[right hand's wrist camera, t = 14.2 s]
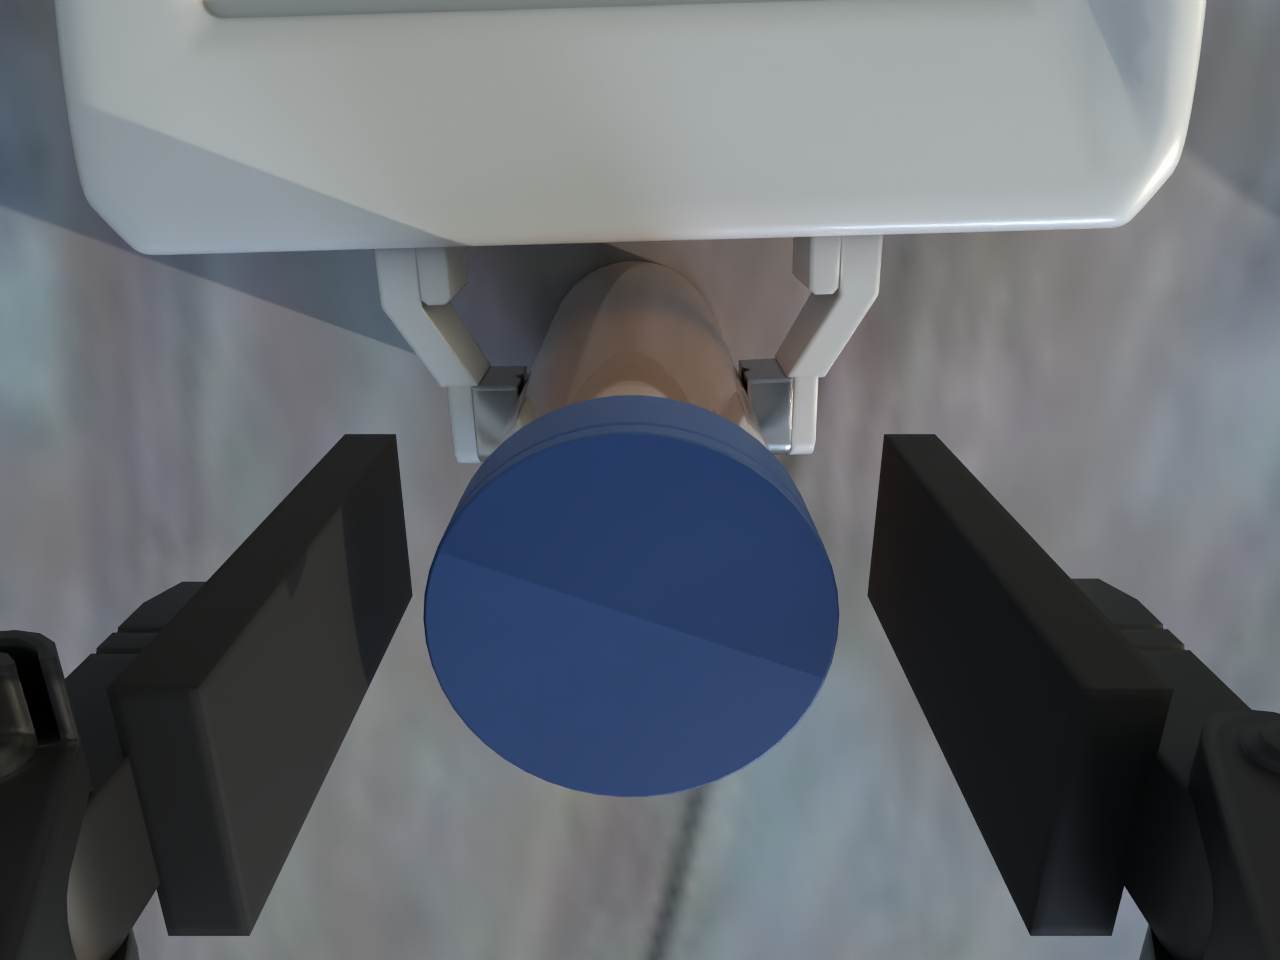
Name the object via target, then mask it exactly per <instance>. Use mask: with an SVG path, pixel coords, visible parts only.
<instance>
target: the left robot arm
mask: <svg viewBox="0 0 1280 960" xmlns="http://www.w3.org/2000/svg"><path fill="white" fill-rule="evenodd" d="M54 1H55V14H56V26H57V35H58V44H59V52H60V61H61V70H62V79H63V86H64V93H65V100H66V107H67V114H68V120H69V126H70V132H71V138H72V144H73V150H74V156H75V161H76V166H77V170H78V174H79V179H80V183H81V186H82V189H83V192H84V194H85V197H86V199H87V201H88V202H89V204H90V205H91V207H92V208H93V209H94V210H95V211H96V212H97V213H98V214H99V215H100V216H101V217H102V218H103V219H104V220H105V221H106V222H107V223H108V224H109V225H110V226H111V227H112V228H113V230H114V231H115V232H116V233H117V234H118V235H119V236H120V237H121V238H123V239H124V240H125V241H126V242H127V243H128V244H129V245H130V246H131V247H132V248H133V249H135V250H136V251H138V252H140V253H143V254H147V255H177V254H212V253H248V252H283V251H318V250H354V249H374V253H375V261H376V269H377V277H378V284H379V292H380V300H381V308H382V309H383V310H384V312H385V313H386V314H387V316H388V317H389V318H390V320H391V321H392V322H393V324H394V325H395V326H396V328H397V329H398V330H399V332H400V333H401V335H402V336H403V337H404V339H405V340H406V341H407V343H408V344H409V345H410V347H411V348H412V349H413V351H414V352H415V353H416V355H417V356H418V357H419V359H420V360H421V361H422V363H423V364H424V365H425V367H426V368H427V369H428V371H429V372H430V373H431V375H432V376H433V378H434V379H435V380H436V382H437V383H438V384H439V386H440V387H447V393H448V402H449V411H450V420H451V430H452V439H453V448H454V455H455V457H456V460H457V462H458V463H481V462H484V461H485V460H486V459H487V458H488V457H489V456H490V455H491V454H492V453H493V452H494V451H495V449H496V447H497V445H498V443H499V440H500V438H501V436H502V434H503V431H504V429H505V427H506V424H507V422H508V420H509V418H510V415H511V413H512V411H513V409H514V406H515V404H516V402H517V400H518V397H519V395H520V393H521V390H522V388H523V386H524V384H525V381H526V379H527V366H490V365H491V364H490V363H489V361H488V360H487V358H486V357H485V355H484V354H483V352H482V350H481V349H480V347H479V346H478V344H477V343H476V341H475V340H474V338H473V337H472V335H471V334H470V332H469V331H468V329H467V328H466V326H465V325H464V323H463V321H462V320H461V318H460V317H459V315H458V314H457V312H456V311H455V309H454V308H453V306H452V305H451V303H450V302H449V301H450V300H451V299H452V298H453V297H454V296H455V295H456V294H457V293H458V292H459V291H460V290H461V289H463V288H464V287H465V286H466V285H467V284H468V273H467V260H466V248H465V246H495V245H531V244H566V243H601V242H637V241H672V240H707V239H743V238H778V237H793V274H794V275H795V277H796V278H797V279H798V280H799V281H801V282H802V283H803V284H804V285H805V286H806V287H807V288H808V289H810V290H811V291H812V293H811V295H810V296H809V298H808V300H807V302H806V303H805V305H804V307H803V308H802V310H801V312H800V314H799V315H798V317H797V319H796V320H795V322H794V324H793V326H792V327H791V329H790V331H789V333H788V334H787V336H786V338H785V339H784V341H783V343H782V345H781V346H780V348H779V350H778V351H777V353H776V355H775V359H755V360H739V377H740V379H741V382H742V384H743V387H744V389H745V391H746V394H747V396H748V399H749V401H750V404H751V406H752V408H753V411H754V413H755V416H756V418H757V420H758V423H759V425H760V428H761V430H762V433H763V435H764V437H765V440H766V442H767V445H768V447H769V449H770V452H771V453H772V454H773V455H788V454H811V453H812V452H813V450H814V445H815V437H816V415H817V393H818V377H825V375H826V374H827V372H828V370H829V369H830V367H831V366H832V364H833V363H834V361H835V360H836V358H837V357H838V355H839V354H840V352H841V351H842V349H843V348H844V346H845V345H846V343H847V342H848V340H849V339H850V337H851V336H852V334H853V333H854V331H855V329H856V328H857V326H858V325H859V323H860V322H861V320H862V319H863V317H864V316H865V314H866V313H867V311H868V310H869V308H870V307H871V305H872V304H873V302H874V301H875V299H876V298H877V296H878V295H879V281H880V267H881V253H882V239H883V235H884V234H919V233H955V232H990V231H1025V230H1061V229H1093V228H1115V227H1119V226H1122V225H1124V224H1126V223H1127V222H1129V221H1130V220H1131V219H1132V218H1133V217H1134V216H1135V215H1136V214H1137V213H1138V212H1139V211H1140V210H1141V209H1142V208H1143V207H1144V206H1145V205H1146V204H1147V202H1148V201H1149V200H1150V199H1151V198H1152V197H1153V195H1154V194H1155V193H1156V192H1157V191H1158V190H1159V188H1160V187H1161V186H1162V185H1163V184H1164V182H1165V181H1166V180H1167V179H1168V178H1169V177H1170V175H1171V174H1172V173H1173V171H1174V170H1175V168H1176V166H1177V164H1178V162H1179V159H1180V156H1181V153H1182V150H1183V146H1184V143H1185V139H1186V134H1187V130H1188V125H1189V120H1190V114H1191V109H1192V103H1193V97H1194V91H1195V84H1196V78H1197V71H1198V64H1199V57H1200V51H1201V42H1202V34H1203V26H1204V18H1205V9H1206V0H54Z"/></svg>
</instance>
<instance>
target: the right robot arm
mask: <svg viewBox="0 0 1280 960" xmlns="http://www.w3.org/2000/svg"><path fill="white" fill-rule="evenodd" d="M411 598H412V587H411V577H410V567H409V558H408V548H407V538H406V529H405V519H404V509H403V500H402V490H401V480H400V471H399V461H398V451H397V442H396V434H345V435H344V436H343V437H342V438H341V439H340V440H339V441H338V442H337V443H336V445H335V446H334V447H333V448H332V449H331V450H330V451H329V452H328V453H327V454H326V455H325V456H324V457H323V458H322V459H321V460H320V462H319V463H318V464H317V465H316V466H315V467H314V468H313V469H312V470H311V471H310V472H309V473H308V474H307V475H306V476H305V477H304V479H303V480H302V481H301V482H300V483H299V484H298V485H297V486H296V487H295V488H294V489H293V490H292V491H291V492H290V493H289V495H288V496H287V497H286V498H285V499H284V500H283V501H282V502H281V503H280V504H279V505H278V506H277V507H276V508H275V509H274V510H273V512H272V513H271V514H270V515H269V516H268V517H267V518H266V519H265V520H264V521H263V522H262V523H261V524H260V525H259V526H258V527H257V529H256V530H255V531H254V532H253V533H252V534H251V535H250V536H249V537H248V538H247V539H246V540H245V541H244V542H243V543H242V545H241V546H240V547H239V548H238V549H237V550H236V551H235V552H234V553H233V554H232V555H231V556H230V557H229V558H228V559H227V560H226V562H225V563H224V564H223V565H222V566H221V567H220V568H219V569H218V570H217V571H216V572H215V573H214V574H213V575H212V576H211V577H210V579H209V580H208V581H207V582H181V583H179V584H177V585H176V586H174V587H172V588H170V589H168V590H166V591H165V592H163V593H161V594H159V595H157V596H155V597H153V598H152V599H150V600H148V601H146V602H144V603H143V604H142V605H141V606H140V607H139V608H138V609H137V610H136V611H135V612H134V613H133V614H131V615H130V616H129V617H128V618H127V619H126V620H125V621H124V622H123V623H122V624H121V625H120V626H119V627H118V632H117V633H112V634H111V635H110V636H109V637H108V638H107V639H106V640H105V641H104V642H103V643H102V644H101V645H100V646H99V647H98V648H97V652H96V654H90V655H89V656H88V657H87V658H86V659H85V660H84V661H83V662H82V663H81V664H80V665H79V666H78V667H77V668H76V669H75V670H74V671H73V672H72V673H71V674H70V675H69V676H68V677H67V678H66V679H64V675H63V671H62V667H61V664H60V660H59V656H58V653H57V649H56V645H55V642H53V641H52V640H50V639H48V638H47V637H45V636H44V635H42V634H40V633H33V632H26V631H18V630H10V631H0V960H139V954H138V947H137V944H136V940H135V936H134V933H133V929H132V927H133V926H134V924H135V922H136V921H137V919H138V918H139V916H140V914H141V913H142V911H143V910H144V908H145V906H146V905H147V903H148V902H149V900H150V899H151V897H152V895H153V894H154V892H155V891H156V889H157V892H158V896H159V900H160V904H161V908H162V912H163V916H164V920H165V924H166V928H167V932H168V936H250V934H251V932H252V929H253V927H254V925H255V923H256V921H257V919H258V917H259V915H260V913H261V911H262V909H263V906H264V904H265V902H266V900H267V898H268V896H269V894H270V892H271V890H272V888H273V886H274V884H275V881H276V879H277V877H278V875H279V873H280V871H281V869H282V867H283V865H284V863H285V861H286V858H287V856H288V854H289V852H290V850H291V848H292V846H293V844H294V842H295V840H296V838H297V836H298V833H299V831H300V829H301V827H302V825H303V823H304V821H305V819H306V817H307V815H308V813H309V810H310V808H311V806H312V804H313V802H314V800H315V798H316V796H317V794H318V792H319V790H320V788H321V785H322V783H323V781H324V779H325V777H326V775H327V773H328V771H329V769H330V767H331V765H332V762H333V760H334V758H335V756H336V754H337V752H338V750H339V748H340V746H341V744H342V742H343V739H344V737H345V735H346V733H347V731H348V729H349V727H350V725H351V723H352V721H353V719H354V717H355V714H356V712H357V710H358V708H359V706H360V704H361V702H362V700H363V698H364V696H365V694H366V691H367V689H368V687H369V685H370V683H371V681H372V679H373V677H374V675H375V673H376V671H377V669H378V666H379V664H380V662H381V660H382V658H383V656H384V654H385V652H386V650H387V648H388V646H389V643H390V641H391V639H392V637H393V635H394V633H395V631H396V629H397V627H398V625H399V623H400V621H401V618H402V616H403V614H404V612H405V610H406V608H407V606H408V604H409V602H410V600H411ZM868 598H869V600H870V602H871V604H872V606H873V608H874V610H875V612H876V614H877V616H878V618H879V621H880V623H881V625H882V627H883V629H884V631H885V633H886V635H887V637H888V639H889V641H890V643H891V646H892V648H893V650H894V652H895V654H896V656H897V658H898V660H899V662H900V664H901V666H902V669H903V671H904V673H905V675H906V677H907V679H908V681H909V683H910V685H911V687H912V689H913V691H914V694H915V696H916V698H917V700H918V702H919V704H920V706H921V708H922V710H923V712H924V714H925V717H926V719H927V721H928V723H929V725H930V727H931V729H932V731H933V733H934V735H935V737H936V739H937V742H938V744H939V746H940V748H941V750H942V752H943V754H944V756H945V758H946V760H947V762H948V765H949V767H950V769H951V771H952V773H953V775H954V777H955V779H956V781H957V783H958V785H959V788H960V790H961V792H962V794H963V796H964V798H965V800H966V802H967V804H968V806H969V808H970V810H971V813H972V815H973V817H974V819H975V821H976V823H977V825H978V827H979V829H980V831H981V833H982V836H983V838H984V840H985V842H986V844H987V846H988V848H989V850H990V852H991V854H992V856H993V858H994V861H995V863H996V865H997V867H998V869H999V871H1000V873H1001V875H1002V877H1003V879H1004V881H1005V884H1006V886H1007V888H1008V890H1009V892H1010V894H1011V896H1012V898H1013V900H1014V902H1015V904H1016V906H1017V909H1018V911H1019V913H1020V915H1021V917H1022V919H1023V921H1024V923H1025V925H1026V927H1027V929H1028V932H1029V934H1030V936H1112V932H1113V928H1114V924H1115V920H1116V916H1117V912H1118V908H1119V904H1120V900H1121V896H1122V892H1123V889H1124V886H1125V887H1126V889H1127V890H1128V892H1129V894H1130V895H1131V897H1132V898H1133V900H1134V902H1135V903H1136V905H1137V906H1138V908H1139V909H1140V911H1141V913H1142V914H1143V916H1144V917H1145V919H1146V920H1147V922H1148V924H1149V925H1148V929H1147V933H1146V936H1145V940H1144V944H1143V947H1142V951H1141V955H1140V958H1139V960H1280V714H1279V713H1275V712H1267V711H1257V710H1251V709H1250V708H1249V707H1248V706H1247V705H1246V704H1245V703H1244V702H1243V701H1242V700H1241V699H1240V698H1239V697H1238V696H1237V695H1236V694H1235V693H1234V692H1233V691H1231V690H1230V689H1229V688H1228V687H1227V686H1226V685H1225V684H1224V683H1223V682H1222V681H1221V680H1220V679H1219V678H1218V677H1217V676H1216V675H1215V674H1214V673H1213V672H1212V671H1211V670H1210V669H1209V668H1208V667H1207V666H1206V665H1205V664H1203V663H1202V662H1201V661H1200V660H1199V659H1198V658H1197V657H1196V656H1195V655H1194V654H1193V653H1192V652H1191V651H1190V650H1185V649H1184V644H1183V643H1182V642H1181V641H1180V640H1179V639H1178V638H1176V637H1175V636H1174V635H1173V634H1172V633H1171V632H1170V631H1169V630H1168V629H1163V624H1162V623H1161V622H1160V621H1159V620H1158V619H1157V618H1156V617H1155V616H1154V615H1153V614H1152V613H1151V612H1150V611H1148V610H1147V609H1146V608H1145V607H1144V606H1143V605H1142V604H1141V603H1140V602H1139V601H1138V600H1137V599H1135V598H1133V597H1131V596H1129V595H1128V594H1126V593H1124V592H1122V591H1120V590H1118V589H1116V588H1115V587H1113V586H1111V585H1109V584H1107V583H1105V582H1103V581H1102V580H1100V579H1070V577H1069V576H1068V575H1067V574H1066V573H1065V572H1064V571H1063V570H1062V569H1061V568H1060V567H1059V566H1058V565H1057V564H1056V563H1055V562H1054V560H1053V559H1052V558H1051V557H1050V556H1049V555H1048V554H1047V553H1046V552H1045V551H1044V550H1043V549H1042V548H1041V547H1040V546H1039V545H1038V543H1037V542H1036V541H1035V540H1034V539H1033V538H1032V537H1031V536H1030V535H1029V534H1028V533H1027V532H1026V531H1025V530H1024V529H1023V527H1022V526H1021V525H1020V524H1019V523H1018V522H1017V521H1016V520H1015V519H1014V518H1013V517H1012V516H1011V515H1010V514H1009V513H1008V512H1007V510H1006V509H1005V508H1004V507H1003V506H1002V505H1001V504H1000V503H999V502H998V501H997V500H996V499H995V498H994V497H993V496H992V495H991V493H990V492H989V491H988V490H987V489H986V488H985V487H984V486H983V485H982V484H981V483H980V482H979V481H978V480H977V479H976V477H975V476H974V475H973V474H972V473H971V472H970V471H969V470H968V469H967V468H966V467H965V466H964V465H963V464H962V463H961V462H960V460H959V459H958V458H957V457H956V456H955V455H954V454H953V453H952V452H951V451H950V450H949V449H948V448H947V447H946V446H945V445H944V443H943V442H942V441H941V440H940V439H939V438H938V437H937V436H936V435H935V434H884V442H883V451H882V461H881V471H880V480H879V490H878V500H877V509H876V519H875V529H874V538H873V548H872V558H871V567H870V577H869V587H868Z"/></svg>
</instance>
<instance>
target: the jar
mask: <svg viewBox="0 0 1280 960" xmlns="http://www.w3.org/2000/svg"><path fill="white" fill-rule="evenodd" d="M616 395H645V396H654V397H662V398H670V399H674V400H678V401H682V402H686V403H690V404H694V405H696V406H699V407H701V408H704V409H706V410H709V411H711V412H714V413H716V414H718V415H720V416H722V417H724V418H726V419H727V420H729V421H731V422H733V423H735V424H737V425H738V426H740V427H741V428H743V429H744V430H745V431H747V432H748V433H749V434H751V435H752V436H753V437H755V438H756V439H757V440H759V441H760V442H761V443H762V444H763V445H764V446H765V447H766V448H767V449H768V450H769V451H770V449H769V447H768V445H767V442H766V440H765V437H764V435H763V433H762V430H761V428H760V425H759V423H758V420H757V418H756V416H755V413H754V411H753V408H752V406H751V404H750V401H749V399H748V396H747V394H746V391H745V389H744V387H743V384H742V382H741V379H740V377H739V375H738V372H737V370H736V367H735V365H734V363H733V360H732V358H731V355H730V353H729V350H728V348H727V346H726V343H725V341H724V338H723V336H722V334H721V331H720V329H719V326H718V324H717V322H716V319H715V317H714V314H713V312H712V309H711V308H710V306H709V304H708V302H707V300H706V299H705V298H704V296H703V295H702V294H701V292H700V291H699V290H698V289H697V288H696V287H695V286H694V285H693V284H692V283H691V282H690V281H689V280H687V279H686V278H685V277H684V276H682V275H681V274H679V273H677V272H675V271H674V270H672V269H669V268H667V267H665V266H662V265H658V264H655V263H651V262H643V261H625V262H618V263H614V264H610V265H607V266H604V267H602V268H599V269H597V270H595V271H593V272H591V273H590V274H588V275H587V276H585V277H584V278H582V279H581V280H580V281H579V282H577V283H576V284H575V285H574V286H573V287H572V289H571V290H570V291H569V292H568V293H567V294H566V296H565V297H564V299H563V300H562V302H561V304H560V305H559V307H558V309H557V311H556V313H555V316H554V318H553V320H552V322H551V325H550V327H549V329H548V332H547V334H546V336H545V338H544V341H543V343H542V345H541V347H540V350H539V352H538V354H537V356H536V359H535V361H534V363H533V366H532V368H531V370H530V372H529V375H528V377H527V379H526V381H525V384H524V386H523V388H522V390H521V393H520V395H519V397H518V400H517V402H516V404H515V406H514V409H513V411H512V413H511V415H510V418H509V420H508V422H507V424H506V427H505V429H504V431H503V434H502V436H501V438H500V440H499V443H498V445H497V447H496V449H497V448H498V447H499V445H500V444H501V443H502V442H504V441H505V440H506V439H508V438H509V437H510V436H512V435H513V434H514V433H515V432H517V431H518V430H519V429H521V428H522V427H524V426H525V425H527V424H529V423H531V422H532V421H534V420H536V419H538V418H539V417H541V416H543V415H545V414H547V413H550V412H552V411H555V410H557V409H560V408H562V407H564V406H567V405H571V404H574V403H578V402H582V401H585V400H589V399H594V398H602V397H609V396H616ZM496 449H495V450H496Z"/></svg>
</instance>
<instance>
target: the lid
mask: <svg viewBox="0 0 1280 960" xmlns="http://www.w3.org/2000/svg"><path fill="white" fill-rule="evenodd" d="M838 622H839V607H838V592H837V587H836V583H835V578H834V574H833V569H832V566H831V563H830V561H829V558H828V555H827V553H826V550H825V548H824V545H823V543H822V540H821V538H820V536H819V534H818V532H817V529H816V527H815V525H814V523H813V520H812V518H811V516H810V514H809V511H808V509H807V507H806V505H805V503H804V500H803V498H802V496H801V494H800V492H799V491H798V489H797V487H796V485H795V484H794V482H793V480H792V478H791V476H790V475H789V474H788V472H787V471H786V470H785V469H784V467H783V466H782V465H781V463H780V462H779V461H778V459H777V458H776V457H775V456H774V455H773V454H772V453H771V452H770V451H769V450H768V449H767V448H766V447H765V446H764V445H763V444H762V443H761V442H760V441H759V440H757V439H756V438H755V437H753V436H752V435H751V434H749V433H748V432H747V431H745V430H744V429H743V428H741V427H740V426H738V425H737V424H735V423H733V422H731V421H729V420H727V419H726V418H724V417H722V416H720V415H718V414H716V413H714V412H711V411H709V410H706V409H704V408H701V407H699V406H696V405H694V404H690V403H686V402H682V401H678V400H674V399H670V398H662V397H654V396H645V395H616V396H609V397H602V398H594V399H589V400H585V401H582V402H578V403H574V404H571V405H567V406H564V407H562V408H560V409H557V410H555V411H552V412H550V413H547V414H545V415H543V416H541V417H539V418H538V419H536V420H534V421H532V422H531V423H529V424H527V425H525V426H524V427H522V428H521V429H519V430H518V431H517V432H515V433H514V434H513V435H512V436H510V437H509V438H508V439H506V440H505V441H504V442H502V443H501V444H500V445H499V447H498V448H497V449H496V450H495V451H494V452H493V453H492V454H491V455H490V456H489V457H488V458H487V459H486V460H485V461H484V463H483V464H482V465H481V467H480V468H479V469H478V471H477V472H476V473H475V475H474V476H473V477H472V479H471V481H470V483H469V484H468V486H467V488H466V490H465V492H464V494H463V496H462V498H461V499H460V502H459V504H458V506H457V508H456V510H455V512H454V514H453V516H452V518H451V520H450V523H449V525H448V527H447V529H446V531H445V533H444V535H443V537H442V539H441V541H440V544H439V546H438V548H437V551H436V554H435V556H434V559H433V562H432V565H431V567H430V570H429V575H428V580H427V585H426V590H425V598H424V627H425V637H426V644H427V648H428V652H429V656H430V659H431V663H432V666H433V669H434V671H435V674H436V676H437V678H438V681H439V683H440V686H441V688H442V690H443V692H444V693H445V695H446V697H447V698H448V700H449V702H450V703H451V705H452V707H453V708H454V710H455V711H456V712H457V714H458V715H459V716H460V717H461V719H462V720H463V721H464V723H465V724H466V725H467V726H468V728H469V729H470V730H471V731H472V732H474V733H475V734H476V735H477V736H478V737H479V738H480V739H481V740H482V741H483V742H484V743H485V744H486V745H487V746H488V747H490V748H491V749H492V750H494V751H495V752H496V753H497V754H499V755H500V756H501V757H503V758H504V759H505V760H507V761H509V762H510V763H512V764H514V765H515V766H517V767H519V768H521V769H522V770H524V771H526V772H528V773H530V774H532V775H534V776H537V777H539V778H541V779H543V780H545V781H548V782H551V783H554V784H557V785H560V786H563V787H566V788H569V789H572V790H577V791H582V792H587V793H592V794H597V795H607V796H618V797H647V796H656V795H665V794H672V793H677V792H681V791H685V790H690V789H694V788H698V787H700V786H703V785H706V784H709V783H712V782H715V781H718V780H720V779H722V778H724V777H727V776H729V775H731V774H733V773H735V772H737V771H739V770H741V769H743V768H744V767H746V766H748V765H749V764H751V763H752V762H754V761H756V760H757V759H759V758H761V757H762V756H763V755H764V754H766V753H767V752H768V751H769V750H771V749H772V748H773V747H774V746H776V745H777V744H778V743H779V742H781V741H782V740H783V739H784V738H785V736H786V735H787V734H788V733H789V732H790V731H791V730H792V729H793V728H794V727H795V726H796V725H797V724H798V723H799V721H800V720H801V719H802V717H803V716H804V715H805V713H806V712H807V711H808V709H809V708H810V707H811V705H812V703H813V702H814V700H815V698H816V696H817V694H818V693H819V691H820V689H821V687H822V686H823V683H824V681H825V678H826V676H827V673H828V670H829V668H830V665H831V663H832V659H833V655H834V650H835V646H836V642H837V635H838Z"/></svg>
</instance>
